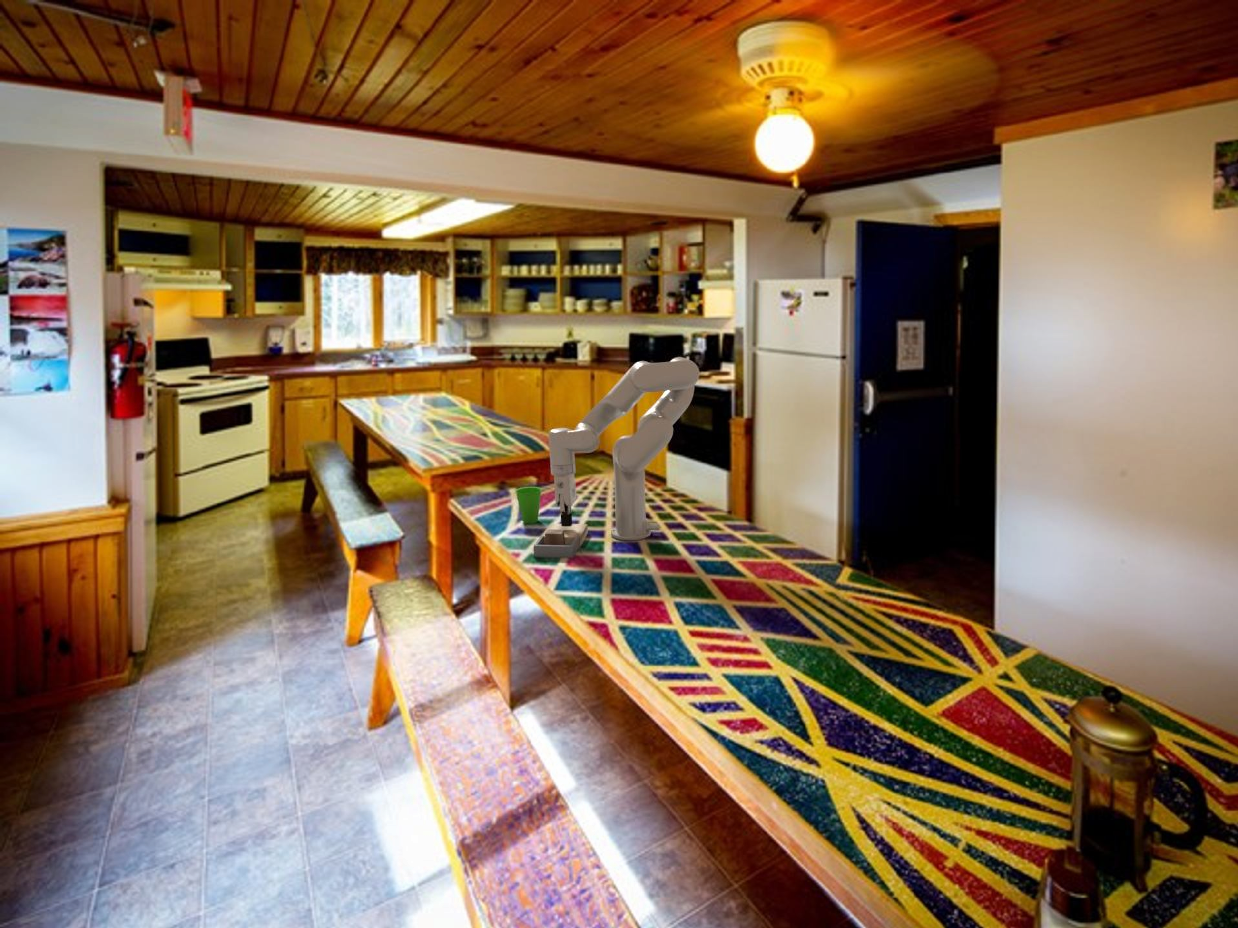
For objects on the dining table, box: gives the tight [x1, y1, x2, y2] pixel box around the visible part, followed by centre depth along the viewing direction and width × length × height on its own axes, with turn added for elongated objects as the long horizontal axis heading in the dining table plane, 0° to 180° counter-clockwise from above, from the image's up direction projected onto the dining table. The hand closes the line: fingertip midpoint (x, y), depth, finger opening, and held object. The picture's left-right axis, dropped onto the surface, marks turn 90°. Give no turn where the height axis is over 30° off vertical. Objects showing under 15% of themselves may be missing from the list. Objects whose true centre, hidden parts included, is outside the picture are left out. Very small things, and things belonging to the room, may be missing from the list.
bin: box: [533, 534, 580, 559], centre depth 213 cm, size 12×9×4 cm
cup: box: [514, 486, 543, 524], centre depth 243 cm, size 9×9×11 cm
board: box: [542, 523, 589, 548], centre depth 224 cm, size 12×13×3 cm
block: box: [545, 529, 565, 545], centre depth 215 cm, size 5×5×4 cm
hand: (566, 525), depth 225 cm, fingers closed
